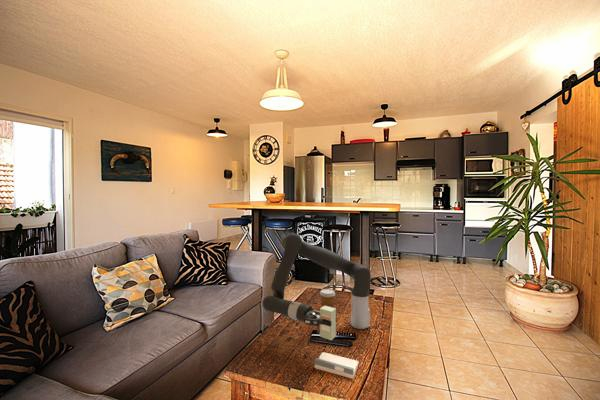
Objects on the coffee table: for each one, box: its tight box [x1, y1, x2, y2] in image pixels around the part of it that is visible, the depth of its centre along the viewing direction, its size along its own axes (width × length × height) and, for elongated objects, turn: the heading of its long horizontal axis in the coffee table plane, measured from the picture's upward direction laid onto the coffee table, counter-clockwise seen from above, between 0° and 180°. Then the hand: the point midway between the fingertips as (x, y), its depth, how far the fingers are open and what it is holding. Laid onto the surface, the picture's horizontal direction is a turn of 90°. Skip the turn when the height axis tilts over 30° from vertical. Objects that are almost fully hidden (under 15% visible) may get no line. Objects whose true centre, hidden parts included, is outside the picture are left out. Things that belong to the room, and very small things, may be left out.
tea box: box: [319, 306, 337, 341], centre depth 118 cm, size 4×6×12 cm
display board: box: [314, 351, 359, 380], centre depth 116 cm, size 10×16×4 cm, turn 66°
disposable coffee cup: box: [319, 288, 336, 308], centre depth 172 cm, size 10×10×12 cm
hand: (333, 321), depth 117 cm, fingers closed on tea box, 4 cm apart
